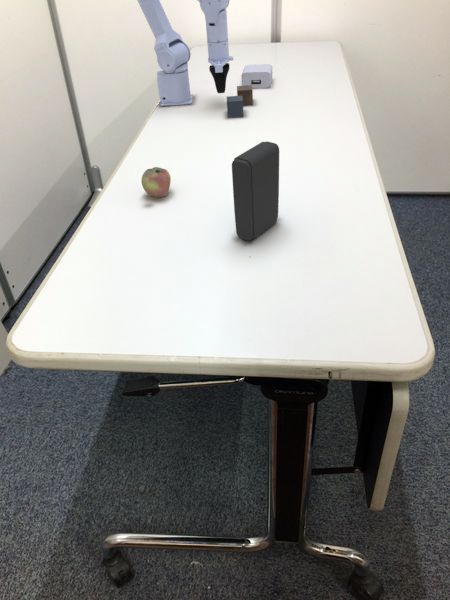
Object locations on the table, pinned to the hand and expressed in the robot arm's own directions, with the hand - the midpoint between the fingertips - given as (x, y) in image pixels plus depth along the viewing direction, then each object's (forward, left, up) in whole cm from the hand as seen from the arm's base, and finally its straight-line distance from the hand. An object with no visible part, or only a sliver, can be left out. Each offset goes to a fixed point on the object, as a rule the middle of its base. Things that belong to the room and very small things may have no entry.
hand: (221, 92), depth 135 cm
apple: (-13, -54, -4) cm, 56 cm away
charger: (+12, +21, -4) cm, 24 cm away
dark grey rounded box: (+7, -69, -4) cm, 69 cm away
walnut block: (+7, 0, -3) cm, 8 cm away
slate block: (+4, -9, -3) cm, 10 cm away
